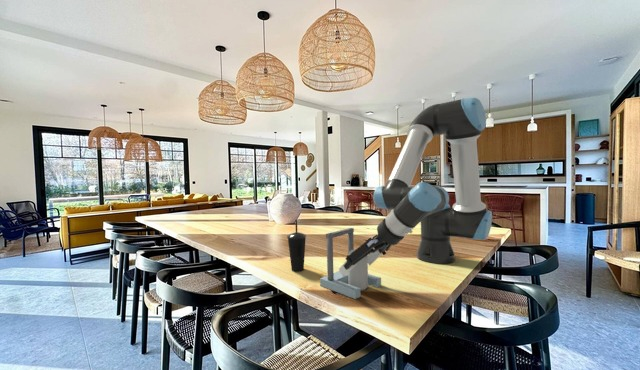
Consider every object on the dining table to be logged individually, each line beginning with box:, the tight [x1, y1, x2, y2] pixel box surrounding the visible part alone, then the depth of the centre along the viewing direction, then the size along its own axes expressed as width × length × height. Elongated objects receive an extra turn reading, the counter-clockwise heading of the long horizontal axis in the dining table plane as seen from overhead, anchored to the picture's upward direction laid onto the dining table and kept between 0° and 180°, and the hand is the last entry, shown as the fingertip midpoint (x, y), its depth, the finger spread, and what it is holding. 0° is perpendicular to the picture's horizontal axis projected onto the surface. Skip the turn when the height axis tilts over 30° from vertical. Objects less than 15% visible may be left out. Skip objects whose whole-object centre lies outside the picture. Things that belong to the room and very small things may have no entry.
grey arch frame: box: [319, 227, 382, 300], centre depth 92 cm, size 15×14×18 cm
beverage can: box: [347, 249, 369, 292], centre depth 90 cm, size 6×6×12 cm
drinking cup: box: [286, 219, 307, 272], centre depth 109 cm, size 8×8×20 cm
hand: (355, 267), depth 90 cm, fingers open, 13 cm apart
